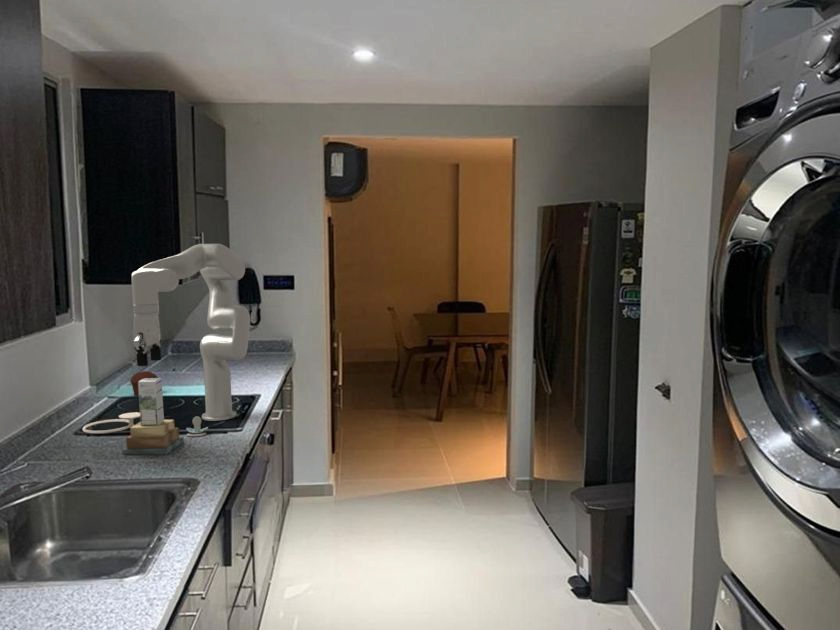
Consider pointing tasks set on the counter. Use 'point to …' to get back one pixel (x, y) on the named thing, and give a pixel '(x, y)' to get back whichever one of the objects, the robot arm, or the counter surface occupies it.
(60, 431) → the counter surface
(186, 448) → the counter surface
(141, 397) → the syrup box
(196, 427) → the pacifier
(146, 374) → the muffin
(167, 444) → the tower base
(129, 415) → the hand towel holder
